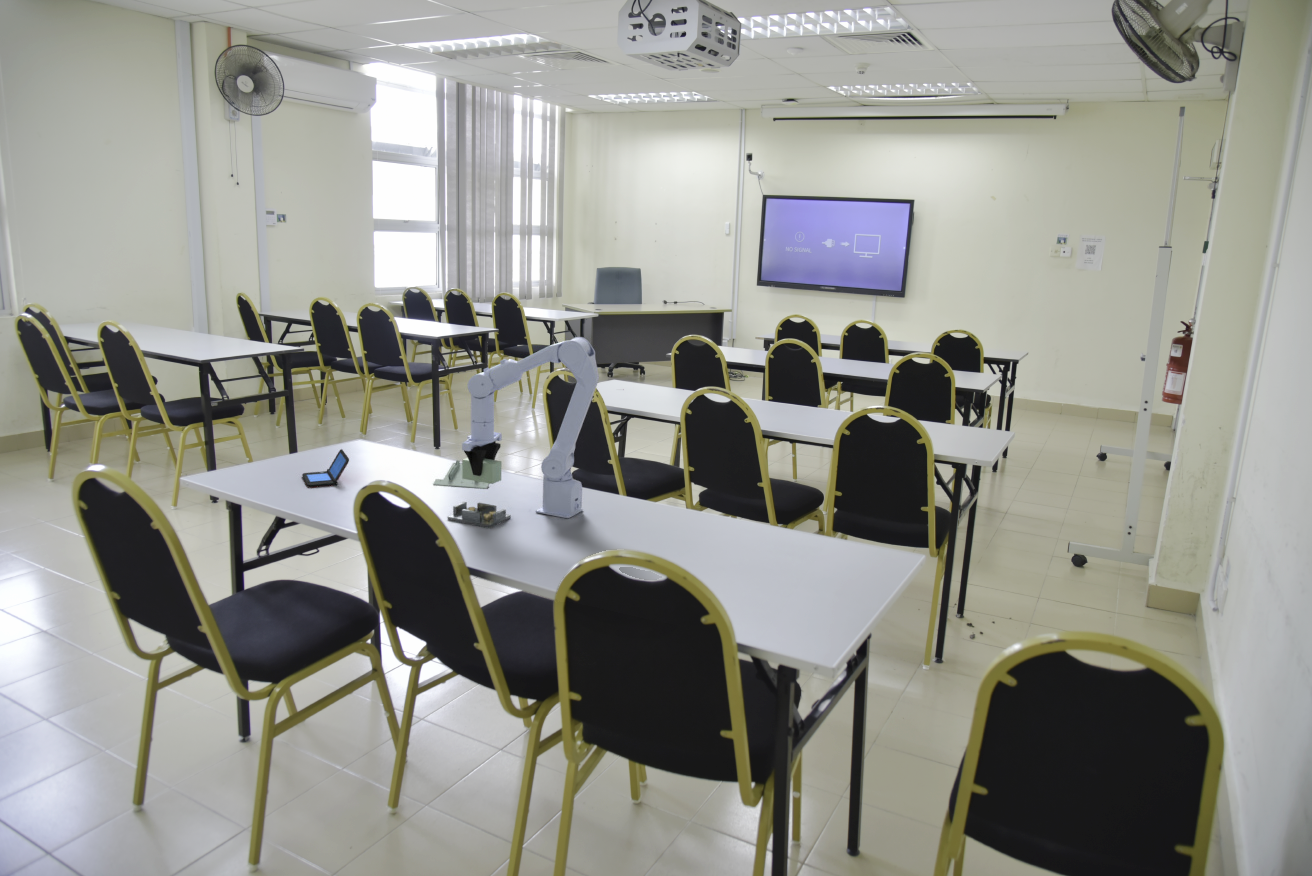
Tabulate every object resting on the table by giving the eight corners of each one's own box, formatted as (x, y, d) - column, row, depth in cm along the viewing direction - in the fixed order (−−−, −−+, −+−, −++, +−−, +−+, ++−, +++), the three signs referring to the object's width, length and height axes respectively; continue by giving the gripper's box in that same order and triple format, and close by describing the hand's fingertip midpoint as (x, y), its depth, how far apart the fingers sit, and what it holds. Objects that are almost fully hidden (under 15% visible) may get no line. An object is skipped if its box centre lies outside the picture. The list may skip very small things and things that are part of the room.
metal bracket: (446, 455, 244) (498, 458, 243) (448, 472, 247) (499, 476, 246) (430, 481, 232) (485, 485, 231) (433, 499, 235) (486, 503, 234)
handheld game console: (301, 477, 236) (300, 450, 234) (342, 473, 241) (341, 448, 240) (307, 489, 225) (306, 461, 224) (350, 485, 230) (349, 458, 229)
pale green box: (501, 480, 217) (501, 459, 216) (492, 483, 214) (492, 463, 213) (471, 475, 221) (471, 454, 220) (462, 478, 217) (462, 458, 216)
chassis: (510, 517, 210) (510, 507, 209) (490, 528, 201) (490, 516, 201) (469, 510, 214) (469, 499, 213) (447, 519, 206) (447, 508, 205)
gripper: (485, 414, 222) (485, 464, 225) (451, 423, 209) (451, 477, 212) (508, 417, 219) (508, 468, 222) (475, 427, 206) (475, 481, 209)
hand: (482, 473), depth 217 cm, fingers closed on pale green box, 4 cm apart
